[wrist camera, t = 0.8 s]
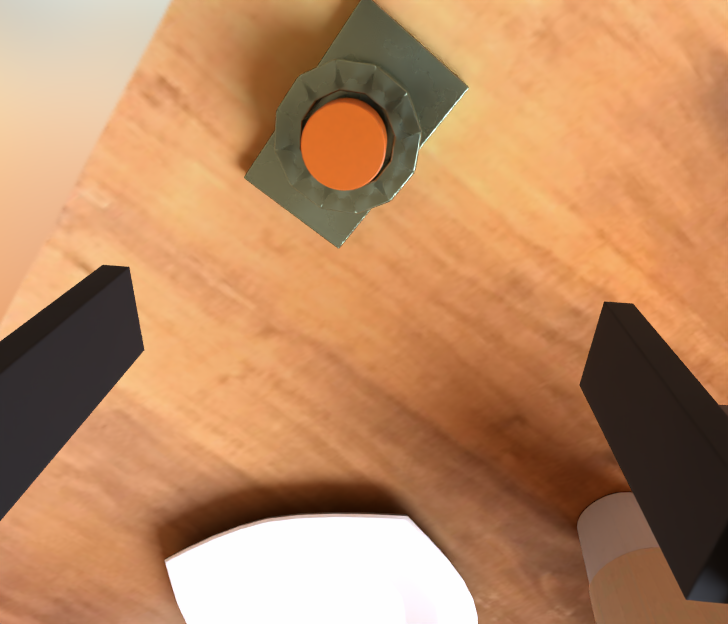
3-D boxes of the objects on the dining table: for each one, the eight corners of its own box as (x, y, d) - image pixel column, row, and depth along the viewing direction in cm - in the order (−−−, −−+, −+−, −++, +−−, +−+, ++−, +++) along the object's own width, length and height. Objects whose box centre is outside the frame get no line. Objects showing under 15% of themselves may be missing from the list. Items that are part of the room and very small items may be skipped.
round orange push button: (339, 79, 22) (333, 82, 21) (403, 133, 23) (403, 141, 21) (293, 146, 24) (283, 155, 22) (355, 195, 25) (351, 207, 23)
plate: (136, 525, 40) (123, 547, 38) (429, 466, 35) (430, 489, 33) (258, 690, 49) (252, 713, 48) (501, 661, 45) (505, 687, 43)
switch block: (361, -10, 23) (356, -16, 20) (471, 90, 24) (478, 94, 22) (242, 171, 27) (228, 183, 24) (343, 247, 28) (338, 265, 26)
